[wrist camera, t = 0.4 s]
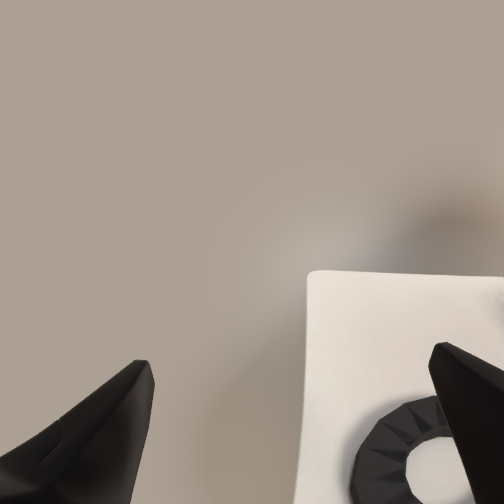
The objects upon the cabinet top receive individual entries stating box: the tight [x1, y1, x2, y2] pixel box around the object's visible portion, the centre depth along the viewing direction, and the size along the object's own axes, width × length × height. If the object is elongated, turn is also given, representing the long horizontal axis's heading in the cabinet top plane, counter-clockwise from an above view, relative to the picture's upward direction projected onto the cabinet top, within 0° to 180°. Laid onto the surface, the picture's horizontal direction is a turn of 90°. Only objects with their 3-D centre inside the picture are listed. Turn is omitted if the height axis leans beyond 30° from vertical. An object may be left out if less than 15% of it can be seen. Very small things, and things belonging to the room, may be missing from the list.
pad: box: [350, 396, 453, 504], centre depth 17 cm, size 17×17×2 cm
